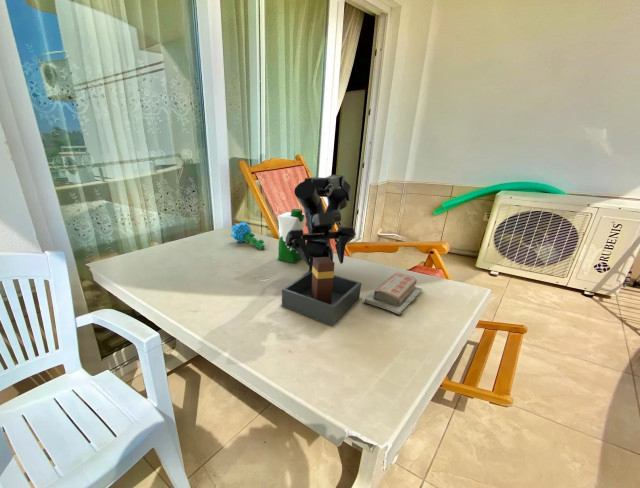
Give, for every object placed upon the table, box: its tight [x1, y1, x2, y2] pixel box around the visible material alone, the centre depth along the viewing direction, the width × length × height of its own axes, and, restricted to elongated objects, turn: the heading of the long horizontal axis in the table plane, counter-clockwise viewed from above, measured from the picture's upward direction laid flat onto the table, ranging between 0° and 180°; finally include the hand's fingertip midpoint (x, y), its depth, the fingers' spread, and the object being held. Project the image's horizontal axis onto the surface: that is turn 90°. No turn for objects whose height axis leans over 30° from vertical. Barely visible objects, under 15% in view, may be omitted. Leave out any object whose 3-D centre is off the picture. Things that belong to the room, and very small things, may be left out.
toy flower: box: [230, 221, 266, 250], centre depth 137 cm, size 9×9×18 cm
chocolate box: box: [311, 257, 335, 305], centre depth 86 cm, size 5×5×13 cm
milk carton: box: [277, 208, 306, 264], centre depth 118 cm, size 9×9×20 cm
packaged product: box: [363, 272, 423, 315], centre depth 89 cm, size 18×5×10 cm
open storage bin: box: [281, 270, 362, 327], centre depth 88 cm, size 18×16×6 cm
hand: (325, 264), depth 83 cm, fingers open, 9 cm apart
